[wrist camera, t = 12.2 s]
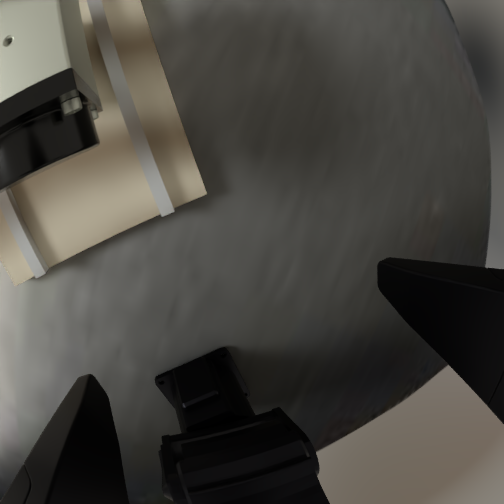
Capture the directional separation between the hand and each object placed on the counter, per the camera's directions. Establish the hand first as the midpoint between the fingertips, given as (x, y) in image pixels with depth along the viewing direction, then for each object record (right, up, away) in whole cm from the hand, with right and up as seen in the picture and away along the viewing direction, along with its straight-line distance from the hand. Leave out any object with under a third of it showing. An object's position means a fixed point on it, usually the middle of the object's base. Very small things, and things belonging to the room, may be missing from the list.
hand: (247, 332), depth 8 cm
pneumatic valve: (-11, +13, +4) cm, 17 cm away
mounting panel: (-12, +13, +5) cm, 18 cm away
